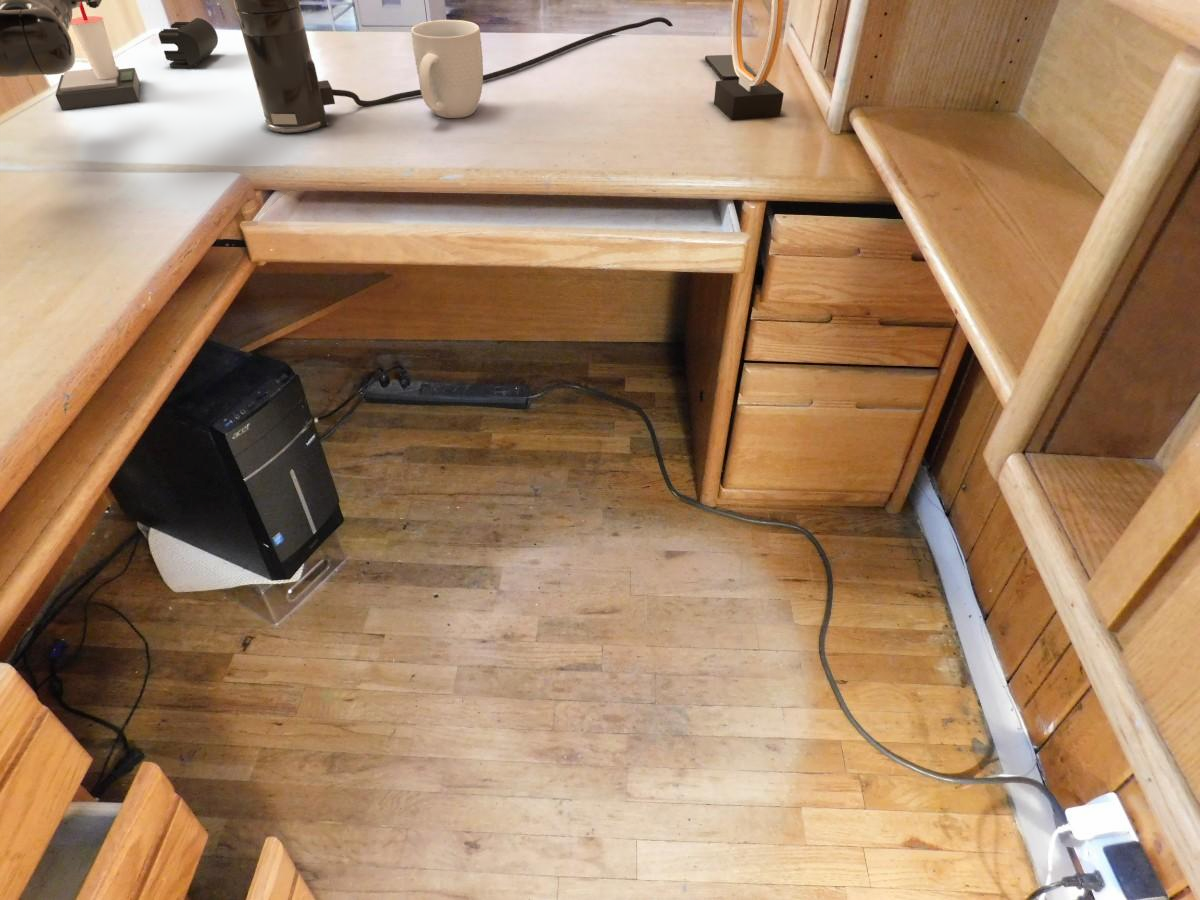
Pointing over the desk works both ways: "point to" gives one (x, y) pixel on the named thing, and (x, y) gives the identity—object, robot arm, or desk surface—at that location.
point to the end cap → (189, 42)
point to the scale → (97, 89)
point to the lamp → (751, 92)
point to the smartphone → (725, 66)
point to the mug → (449, 66)
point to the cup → (95, 44)
